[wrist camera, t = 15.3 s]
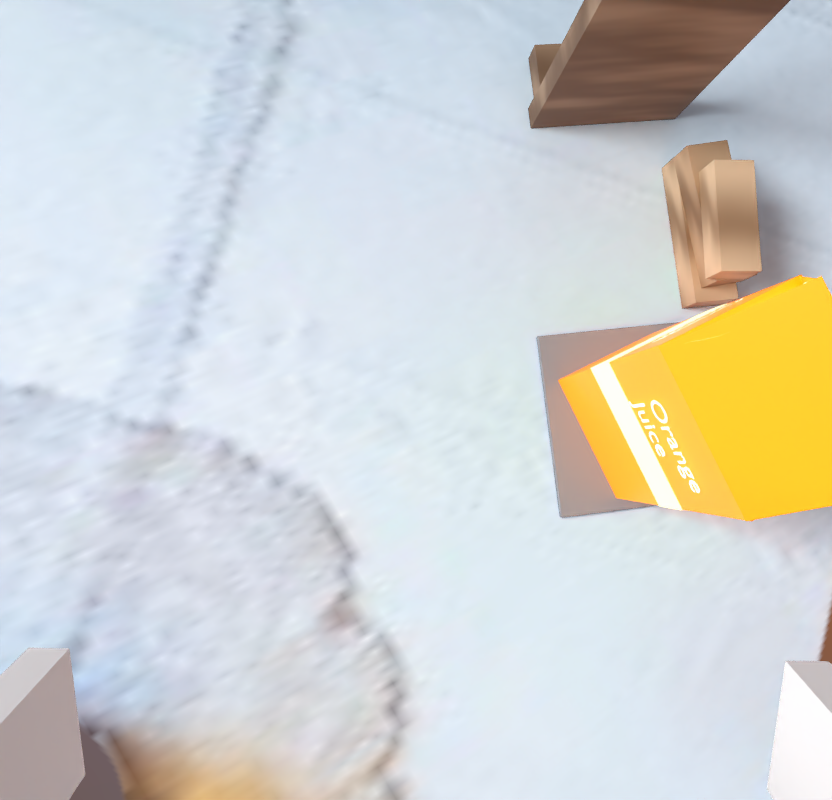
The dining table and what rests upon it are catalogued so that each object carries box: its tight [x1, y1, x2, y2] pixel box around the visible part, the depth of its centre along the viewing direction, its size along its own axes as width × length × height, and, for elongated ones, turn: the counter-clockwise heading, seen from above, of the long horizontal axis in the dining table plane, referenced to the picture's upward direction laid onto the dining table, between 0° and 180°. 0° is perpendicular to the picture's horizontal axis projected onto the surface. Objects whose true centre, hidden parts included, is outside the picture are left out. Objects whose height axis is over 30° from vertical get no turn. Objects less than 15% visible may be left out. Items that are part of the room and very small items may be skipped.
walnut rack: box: [528, 0, 790, 308], centre depth 33 cm, size 18×12×24 cm, turn 7°
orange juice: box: [558, 275, 832, 521], centre depth 33 cm, size 8×9×20 cm
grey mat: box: [537, 322, 680, 518], centre depth 44 cm, size 12×12×1 cm
